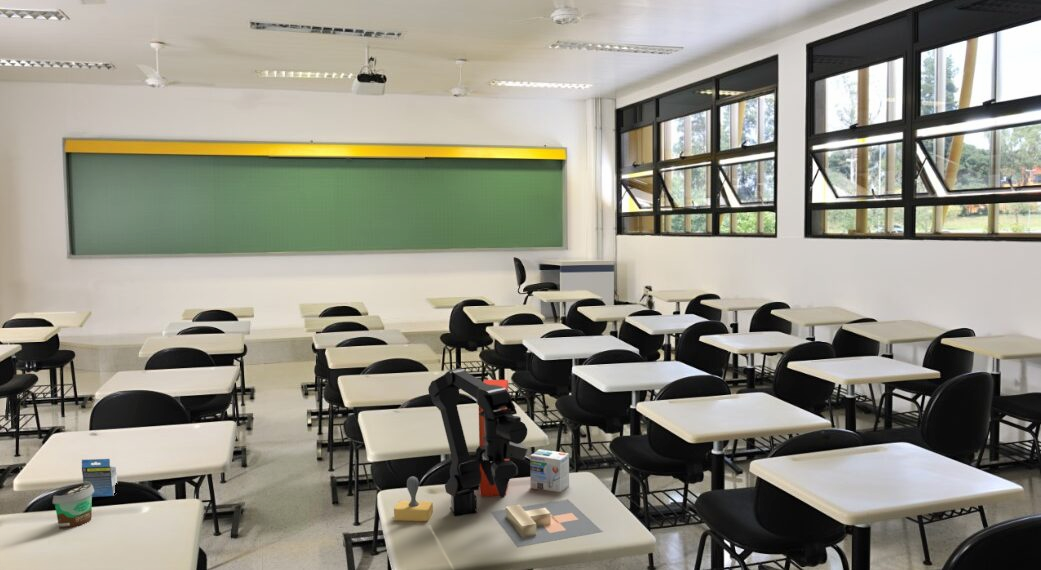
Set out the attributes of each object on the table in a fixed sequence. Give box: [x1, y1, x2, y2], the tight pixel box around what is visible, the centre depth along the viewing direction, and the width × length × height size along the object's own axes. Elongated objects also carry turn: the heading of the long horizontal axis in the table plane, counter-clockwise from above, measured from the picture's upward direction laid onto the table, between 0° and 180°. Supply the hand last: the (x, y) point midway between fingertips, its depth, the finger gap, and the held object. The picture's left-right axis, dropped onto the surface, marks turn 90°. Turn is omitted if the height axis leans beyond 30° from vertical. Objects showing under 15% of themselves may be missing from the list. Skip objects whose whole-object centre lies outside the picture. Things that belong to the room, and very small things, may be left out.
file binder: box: [478, 379, 510, 498], centre depth 236 cm, size 8×17×32 cm, turn 177°
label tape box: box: [81, 458, 118, 498], centre depth 237 cm, size 9×4×12 cm, turn 94°
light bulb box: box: [529, 448, 570, 493], centre depth 235 cm, size 11×7×11 cm, turn 62°
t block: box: [505, 504, 551, 537], centre depth 207 cm, size 10×14×3 cm
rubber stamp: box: [393, 476, 434, 522], centre depth 215 cm, size 10×6×12 cm, turn 83°
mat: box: [490, 498, 603, 548], centre depth 209 cm, size 24×24×1 cm
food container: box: [52, 481, 94, 530], centre depth 217 cm, size 12×6×10 cm, turn 168°
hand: (497, 491), depth 203 cm, fingers open, 9 cm apart
